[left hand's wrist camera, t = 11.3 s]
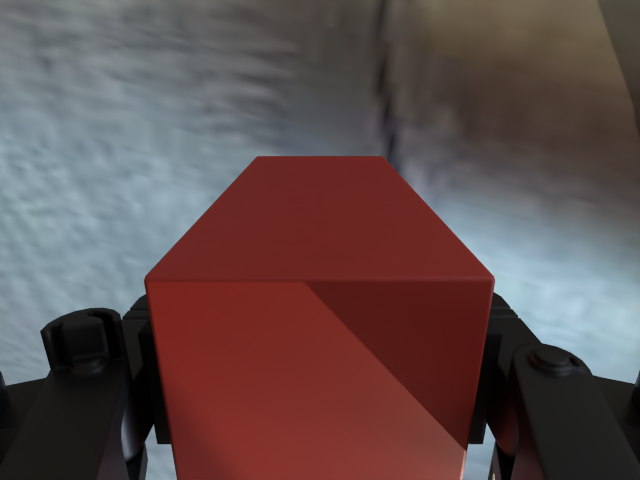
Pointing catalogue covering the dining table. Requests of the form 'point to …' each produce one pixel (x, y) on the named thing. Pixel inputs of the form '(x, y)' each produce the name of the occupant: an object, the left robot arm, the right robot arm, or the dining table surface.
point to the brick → (319, 329)
